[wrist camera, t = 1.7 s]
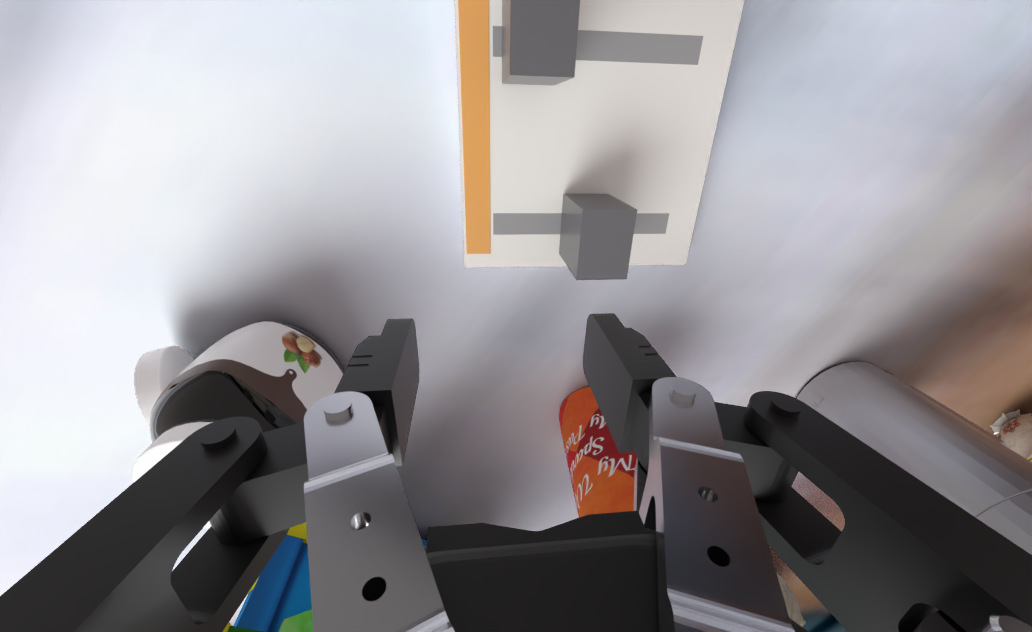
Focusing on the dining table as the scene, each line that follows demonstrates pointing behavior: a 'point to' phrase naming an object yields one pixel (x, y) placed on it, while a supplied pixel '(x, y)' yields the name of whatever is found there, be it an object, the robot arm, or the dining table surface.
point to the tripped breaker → (596, 236)
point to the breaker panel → (592, 127)
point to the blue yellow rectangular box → (281, 590)
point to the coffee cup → (595, 458)
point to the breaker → (539, 41)
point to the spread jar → (231, 384)
